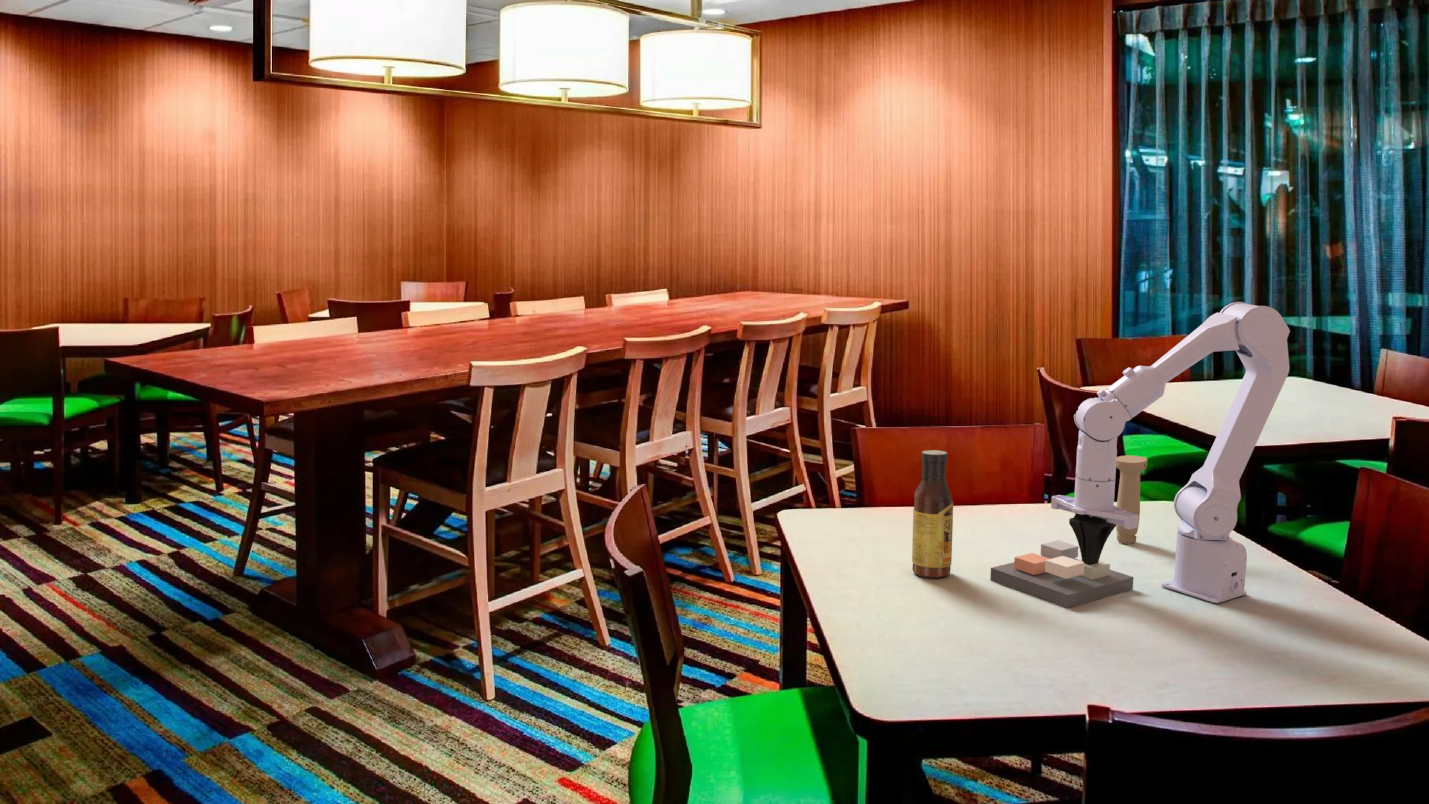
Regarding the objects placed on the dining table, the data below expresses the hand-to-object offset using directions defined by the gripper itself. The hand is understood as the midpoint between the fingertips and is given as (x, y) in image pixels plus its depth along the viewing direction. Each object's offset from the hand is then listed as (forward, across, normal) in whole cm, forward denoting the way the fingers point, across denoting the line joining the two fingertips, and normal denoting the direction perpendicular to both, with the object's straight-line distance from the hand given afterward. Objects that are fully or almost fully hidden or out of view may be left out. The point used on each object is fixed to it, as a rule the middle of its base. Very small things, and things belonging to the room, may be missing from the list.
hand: (1090, 563), depth 166 cm
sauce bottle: (+4, -18, -16) cm, 24 cm away
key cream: (0, 0, -6) cm, 6 cm away
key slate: (0, -6, 0) cm, 6 cm away
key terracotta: (+2, -6, -6) cm, 9 cm away
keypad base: (+4, -3, -3) cm, 6 cm away
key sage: (+2, 0, 0) cm, 2 cm away
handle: (+4, -12, +25) cm, 28 cm away
